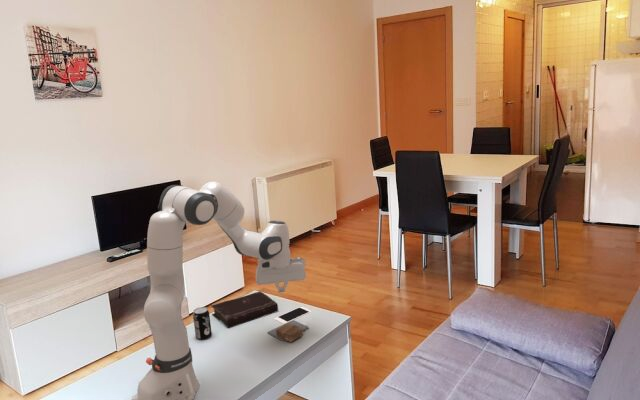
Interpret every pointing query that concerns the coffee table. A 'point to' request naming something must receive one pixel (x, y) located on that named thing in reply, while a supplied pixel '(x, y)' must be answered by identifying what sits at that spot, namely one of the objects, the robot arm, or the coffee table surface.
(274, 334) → the mat
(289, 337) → the wooden block
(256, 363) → the coffee table surface
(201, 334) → the beverage can
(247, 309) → the diary
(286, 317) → the cell phone
